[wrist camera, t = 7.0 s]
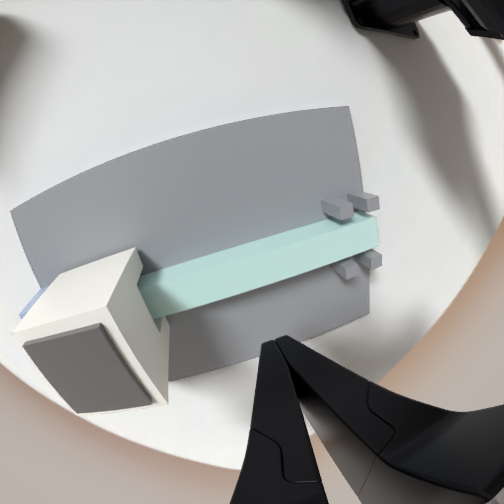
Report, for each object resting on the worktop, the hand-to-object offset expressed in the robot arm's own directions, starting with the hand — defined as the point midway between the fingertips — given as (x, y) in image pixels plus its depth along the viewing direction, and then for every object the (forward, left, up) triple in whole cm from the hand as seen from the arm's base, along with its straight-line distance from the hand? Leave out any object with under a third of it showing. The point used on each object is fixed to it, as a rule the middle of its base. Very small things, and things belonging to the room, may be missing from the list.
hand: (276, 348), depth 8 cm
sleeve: (+7, 0, -7) cm, 10 cm away
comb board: (+2, 0, -8) cm, 8 cm away
